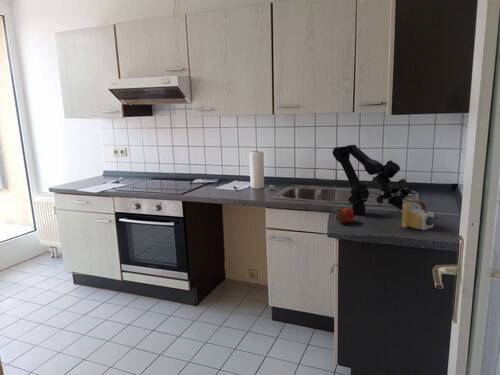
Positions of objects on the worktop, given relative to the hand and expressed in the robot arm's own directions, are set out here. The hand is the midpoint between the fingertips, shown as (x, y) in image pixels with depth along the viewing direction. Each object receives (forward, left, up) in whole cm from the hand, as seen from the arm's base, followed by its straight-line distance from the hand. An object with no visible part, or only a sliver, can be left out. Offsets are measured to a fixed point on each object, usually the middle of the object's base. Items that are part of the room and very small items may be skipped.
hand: (403, 210), depth 181 cm
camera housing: (+7, 0, -8) cm, 11 cm away
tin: (+11, +19, -8) cm, 24 cm away
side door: (+2, -3, -7) cm, 8 cm away
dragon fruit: (-25, +10, -8) cm, 28 cm away
